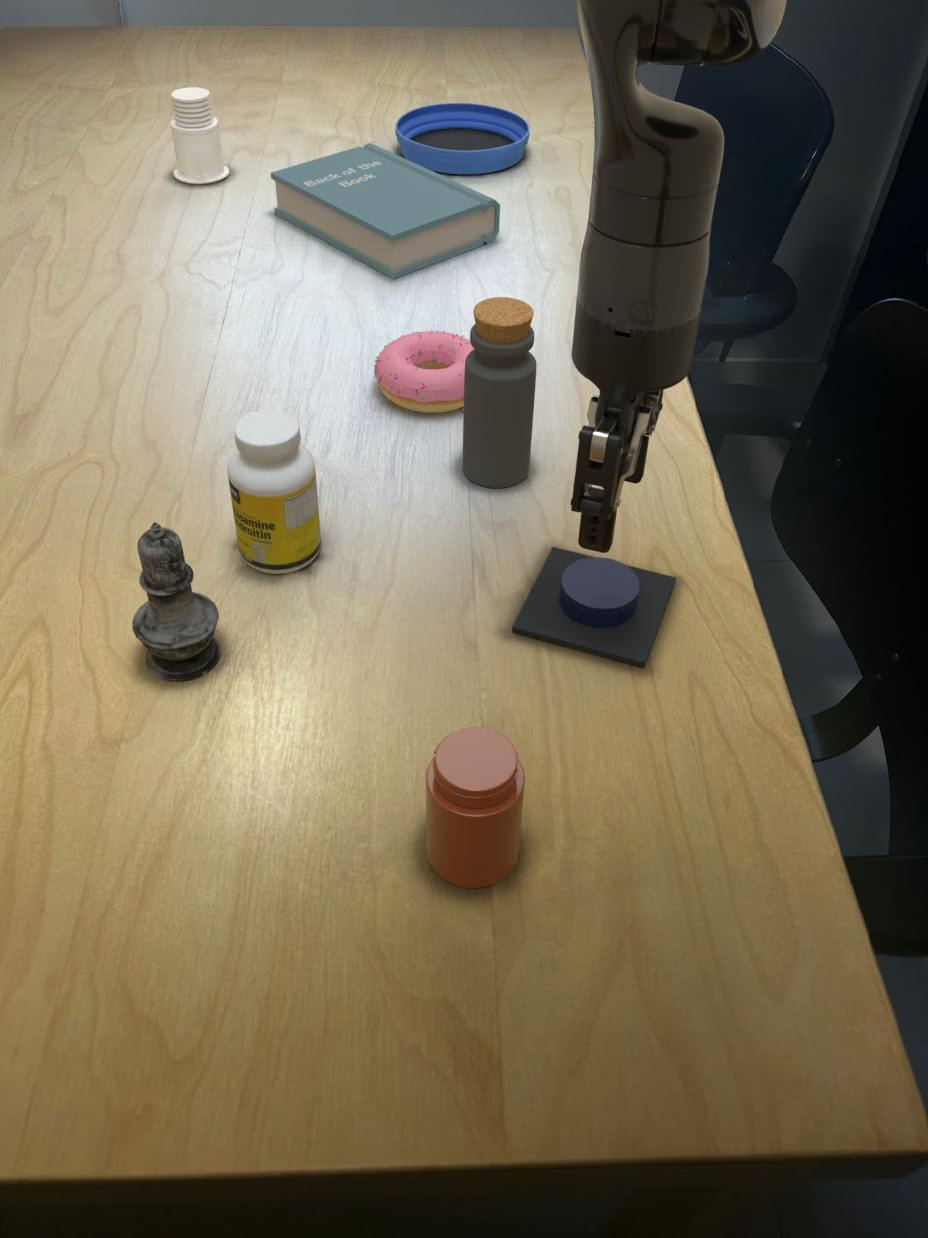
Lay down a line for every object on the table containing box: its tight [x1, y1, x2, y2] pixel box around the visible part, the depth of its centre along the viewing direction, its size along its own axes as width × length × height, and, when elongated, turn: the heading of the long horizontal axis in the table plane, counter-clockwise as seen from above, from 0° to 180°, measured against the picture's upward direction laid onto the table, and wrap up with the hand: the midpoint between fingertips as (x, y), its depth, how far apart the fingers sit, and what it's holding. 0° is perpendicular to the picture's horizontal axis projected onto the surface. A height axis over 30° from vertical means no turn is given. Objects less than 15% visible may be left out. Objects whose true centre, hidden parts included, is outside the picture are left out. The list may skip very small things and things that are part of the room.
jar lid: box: [559, 556, 640, 628], centre depth 82 cm, size 6×6×2 cm
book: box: [270, 142, 501, 280], centre depth 131 cm, size 23×16×5 cm
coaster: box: [511, 546, 677, 669], centre depth 83 cm, size 10×10×1 cm
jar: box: [425, 726, 526, 889], centre depth 64 cm, size 6×6×9 cm
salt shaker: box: [131, 521, 222, 683], centre depth 75 cm, size 6×6×12 cm
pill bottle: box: [226, 409, 322, 575], centre depth 84 cm, size 6×6×12 cm
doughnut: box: [373, 329, 474, 414], centre depth 104 cm, size 11×11×4 cm
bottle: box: [462, 296, 537, 489], centre depth 91 cm, size 6×6×15 cm
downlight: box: [170, 86, 230, 185], centre depth 139 cm, size 8×7×10 cm
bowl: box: [394, 102, 530, 175], centre depth 149 cm, size 18×18×4 cm
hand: (611, 512), depth 77 cm, fingers open, 8 cm apart
